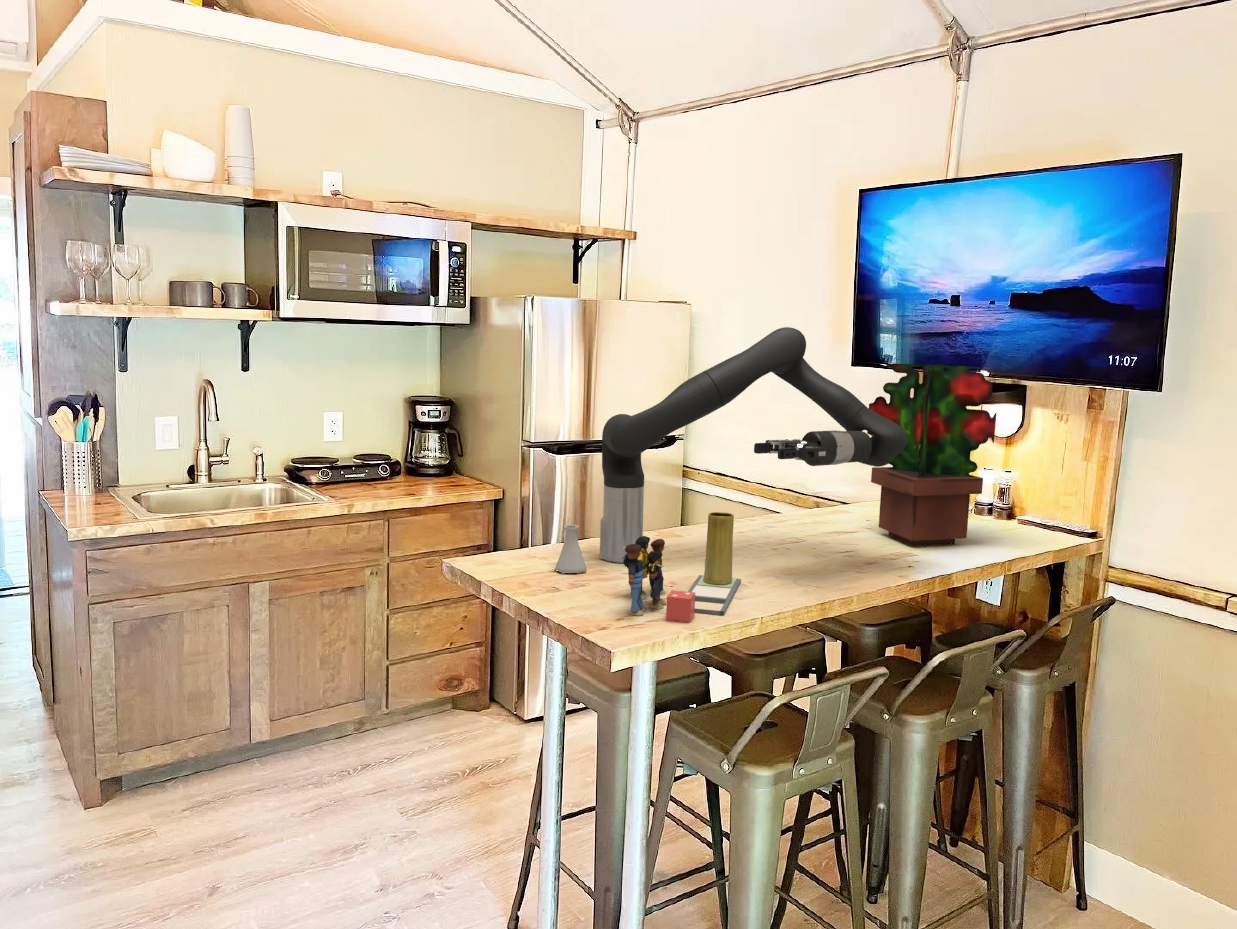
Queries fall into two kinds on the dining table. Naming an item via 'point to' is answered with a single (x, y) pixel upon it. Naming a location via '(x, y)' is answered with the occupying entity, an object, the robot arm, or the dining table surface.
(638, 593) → the doll family
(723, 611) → the game board
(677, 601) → the red die
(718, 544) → the vase
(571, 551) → the flask
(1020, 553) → the dining table surface
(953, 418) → the potted plant
